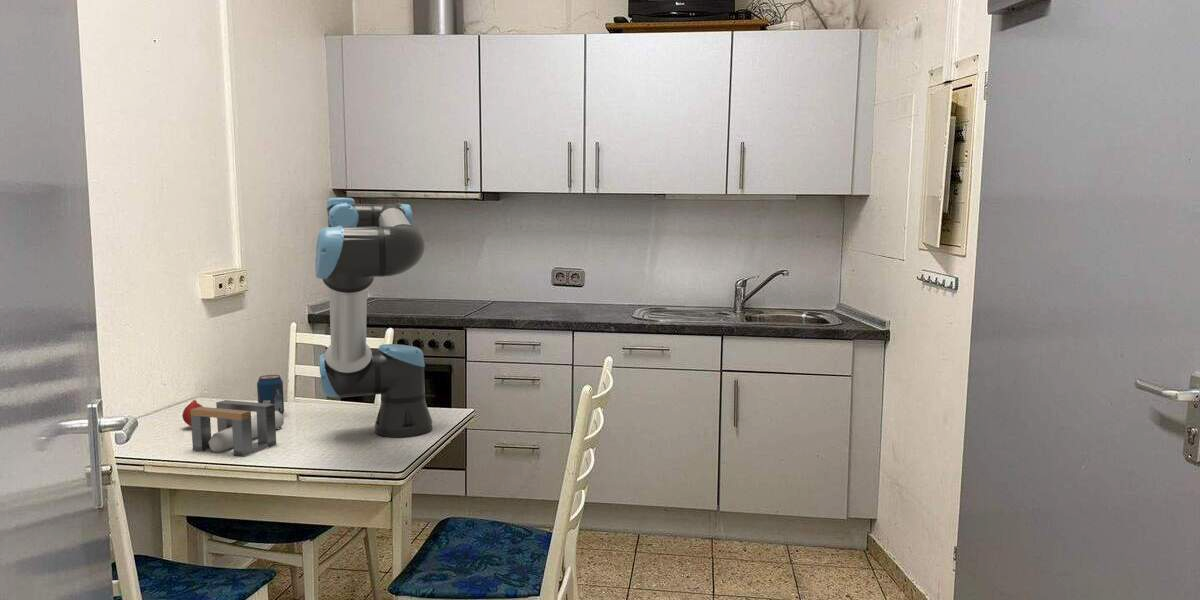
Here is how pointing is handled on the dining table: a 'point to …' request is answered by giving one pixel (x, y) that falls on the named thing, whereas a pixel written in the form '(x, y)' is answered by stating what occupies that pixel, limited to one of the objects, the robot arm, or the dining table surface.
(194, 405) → the onion
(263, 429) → the gray frame
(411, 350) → the robot arm
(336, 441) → the dining table surface
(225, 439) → the tube
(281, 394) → the soda can
